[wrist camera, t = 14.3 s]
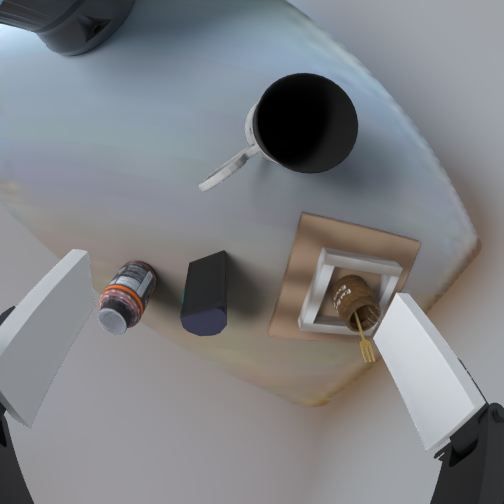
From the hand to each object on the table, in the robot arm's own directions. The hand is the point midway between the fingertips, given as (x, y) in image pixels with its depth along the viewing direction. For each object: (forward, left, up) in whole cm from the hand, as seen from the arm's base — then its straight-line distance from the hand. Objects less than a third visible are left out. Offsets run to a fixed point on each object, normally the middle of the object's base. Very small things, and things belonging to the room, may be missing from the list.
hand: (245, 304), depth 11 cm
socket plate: (+12, +18, -25) cm, 33 cm away
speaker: (+14, -2, -26) cm, 29 cm away
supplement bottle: (+16, -13, -26) cm, 33 cm away
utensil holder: (+12, +18, -24) cm, 33 cm away
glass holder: (-6, +1, -26) cm, 26 cm away
